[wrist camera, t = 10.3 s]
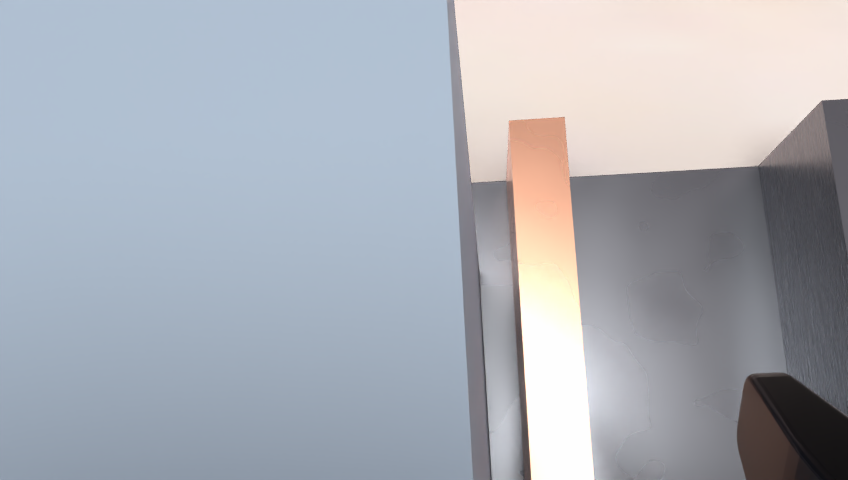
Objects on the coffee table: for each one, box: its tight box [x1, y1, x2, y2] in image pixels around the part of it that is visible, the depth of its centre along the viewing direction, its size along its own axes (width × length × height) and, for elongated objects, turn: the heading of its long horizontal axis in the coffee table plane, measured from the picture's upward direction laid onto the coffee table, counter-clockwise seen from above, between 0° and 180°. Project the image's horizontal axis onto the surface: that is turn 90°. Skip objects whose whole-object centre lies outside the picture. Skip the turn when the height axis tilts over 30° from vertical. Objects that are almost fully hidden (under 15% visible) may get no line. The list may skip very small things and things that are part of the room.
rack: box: [471, 99, 848, 480], centre depth 16 cm, size 9×19×4 cm, turn 92°
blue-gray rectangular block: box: [0, 0, 492, 480], centre depth 11 cm, size 5×3×13 cm, turn 2°
